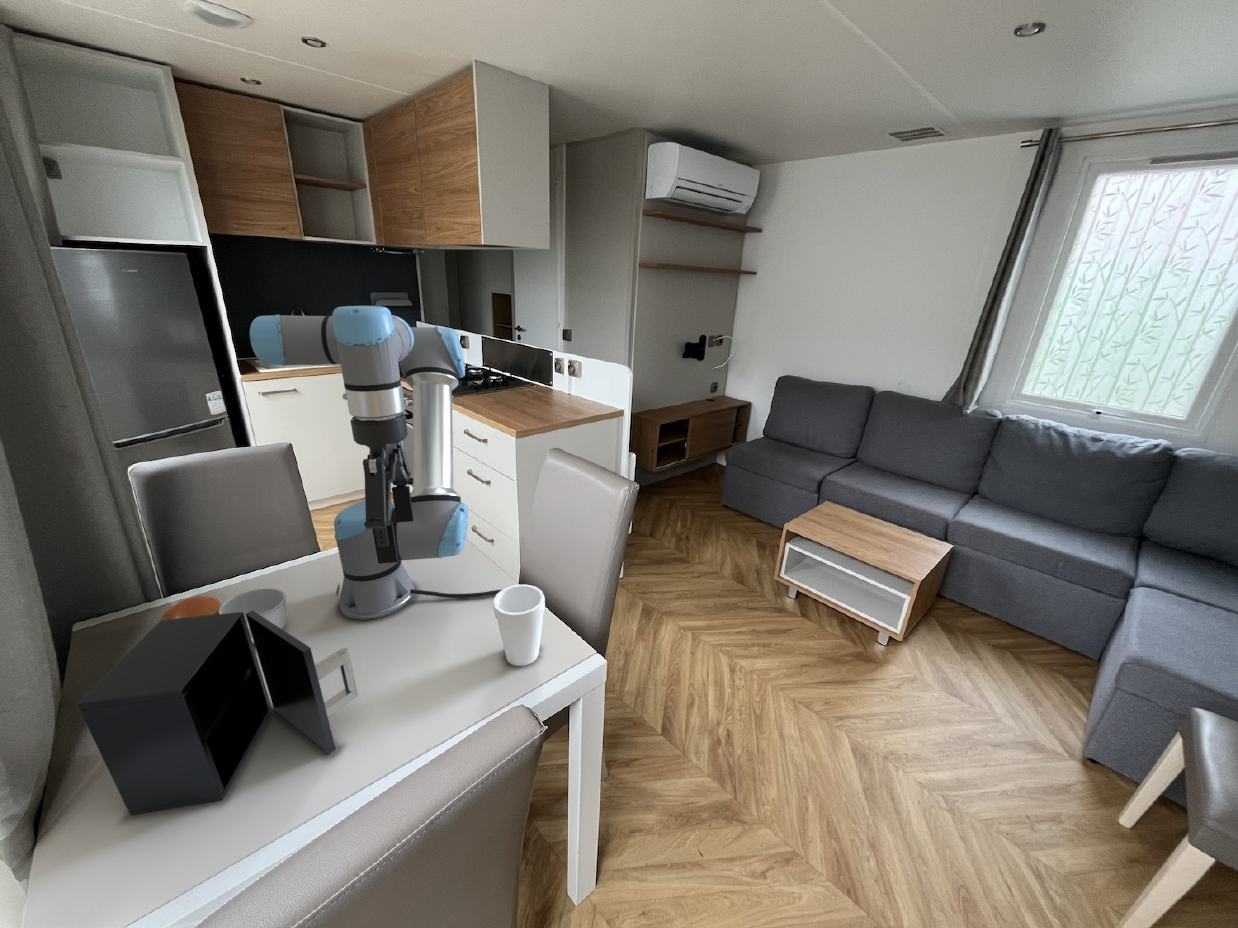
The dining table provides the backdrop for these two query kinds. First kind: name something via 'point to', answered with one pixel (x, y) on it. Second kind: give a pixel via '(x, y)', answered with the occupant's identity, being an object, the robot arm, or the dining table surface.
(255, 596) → the teacup
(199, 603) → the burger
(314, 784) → the dining table surface
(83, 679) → the dining table surface
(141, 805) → the fridge
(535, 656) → the foam cup
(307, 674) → the fridge door
